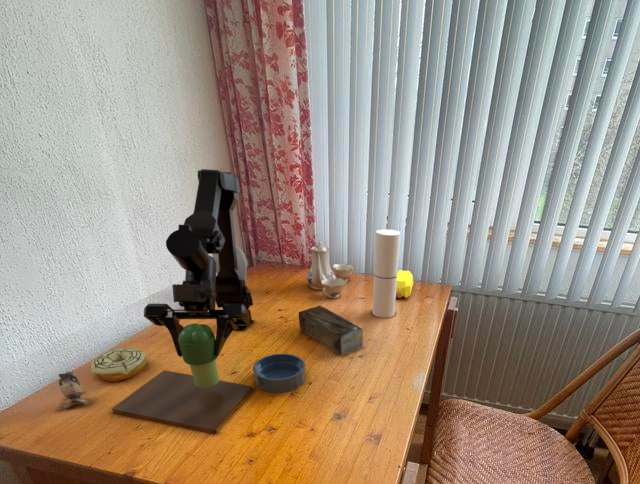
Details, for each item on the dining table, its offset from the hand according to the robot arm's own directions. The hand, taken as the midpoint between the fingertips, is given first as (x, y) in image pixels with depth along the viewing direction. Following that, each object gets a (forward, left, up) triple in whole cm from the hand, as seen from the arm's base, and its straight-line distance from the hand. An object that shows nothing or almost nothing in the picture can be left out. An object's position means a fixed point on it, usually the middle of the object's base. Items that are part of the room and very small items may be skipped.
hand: (198, 355), depth 76 cm
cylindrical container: (+26, +57, -11) cm, 63 cm away
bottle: (-26, +56, -11) cm, 63 cm away
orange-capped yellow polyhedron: (+28, +78, -11) cm, 83 cm away
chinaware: (+2, +73, -11) cm, 74 cm away
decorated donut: (-24, +4, -11) cm, 27 cm away
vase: (-24, -8, -11) cm, 28 cm away
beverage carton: (+16, +34, -11) cm, 39 cm away
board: (-3, -2, -10) cm, 11 cm away
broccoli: (0, +1, -7) cm, 7 cm away
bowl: (+12, +11, -10) cm, 19 cm away
